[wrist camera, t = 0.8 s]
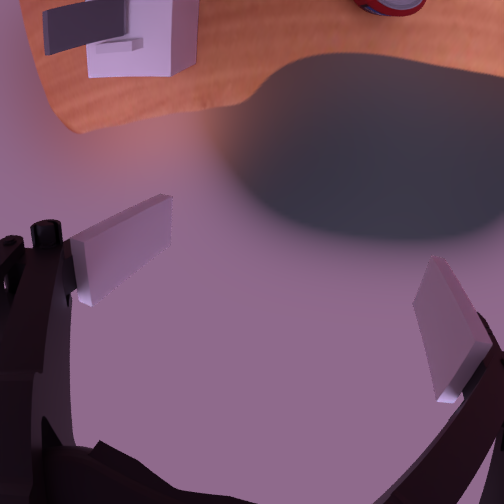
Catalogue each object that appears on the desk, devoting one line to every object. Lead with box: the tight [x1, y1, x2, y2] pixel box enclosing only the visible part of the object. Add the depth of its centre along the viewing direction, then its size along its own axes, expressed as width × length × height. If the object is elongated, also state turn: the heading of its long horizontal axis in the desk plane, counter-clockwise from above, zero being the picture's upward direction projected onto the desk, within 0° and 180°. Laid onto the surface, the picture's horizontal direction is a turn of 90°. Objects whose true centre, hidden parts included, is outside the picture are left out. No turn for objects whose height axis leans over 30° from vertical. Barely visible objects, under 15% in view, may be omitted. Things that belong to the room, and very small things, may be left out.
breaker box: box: [85, 0, 199, 78], centre depth 28 cm, size 12×16×10 cm
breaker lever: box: [43, 0, 126, 55], centre depth 23 cm, size 2×5×10 cm, turn 174°
